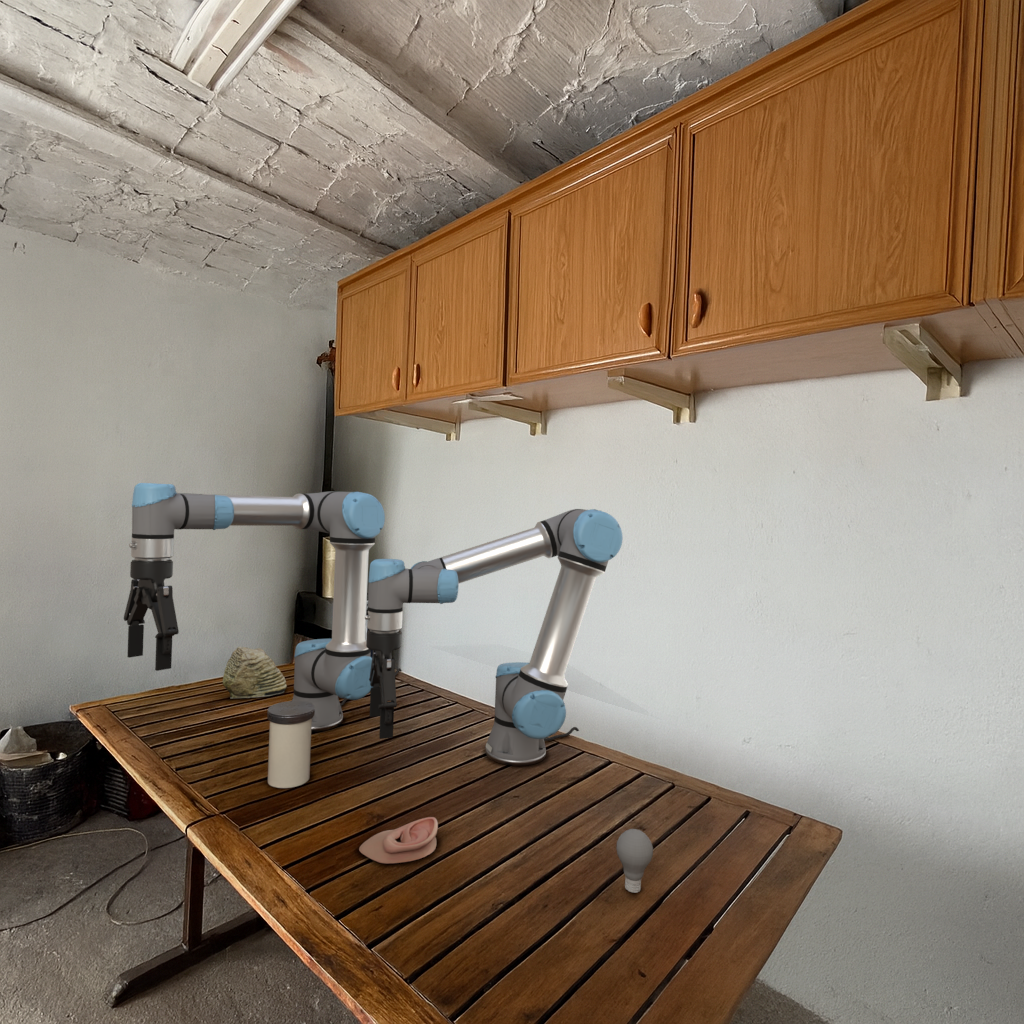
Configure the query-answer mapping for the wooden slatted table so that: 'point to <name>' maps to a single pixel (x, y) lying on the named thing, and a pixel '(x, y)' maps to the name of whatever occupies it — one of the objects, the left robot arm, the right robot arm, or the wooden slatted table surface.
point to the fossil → (252, 674)
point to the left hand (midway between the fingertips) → (148, 662)
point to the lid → (290, 712)
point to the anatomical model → (403, 842)
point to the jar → (289, 754)
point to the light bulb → (634, 857)
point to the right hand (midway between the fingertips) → (380, 726)
